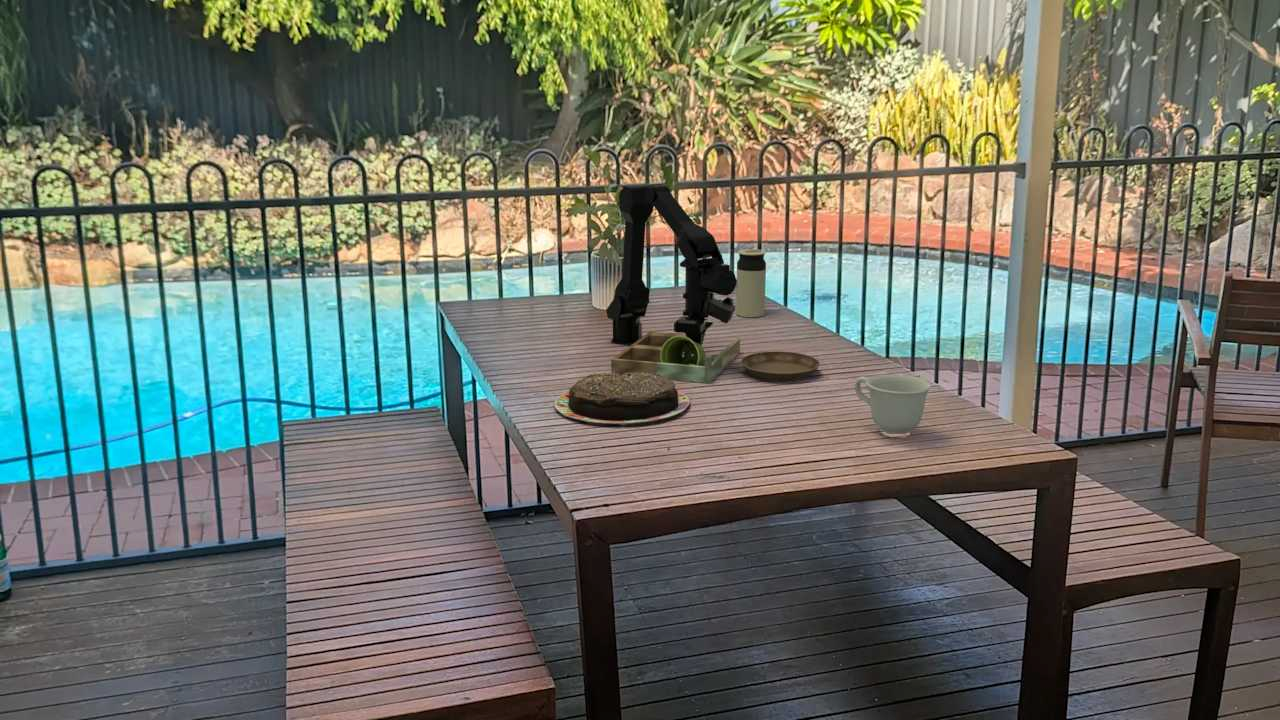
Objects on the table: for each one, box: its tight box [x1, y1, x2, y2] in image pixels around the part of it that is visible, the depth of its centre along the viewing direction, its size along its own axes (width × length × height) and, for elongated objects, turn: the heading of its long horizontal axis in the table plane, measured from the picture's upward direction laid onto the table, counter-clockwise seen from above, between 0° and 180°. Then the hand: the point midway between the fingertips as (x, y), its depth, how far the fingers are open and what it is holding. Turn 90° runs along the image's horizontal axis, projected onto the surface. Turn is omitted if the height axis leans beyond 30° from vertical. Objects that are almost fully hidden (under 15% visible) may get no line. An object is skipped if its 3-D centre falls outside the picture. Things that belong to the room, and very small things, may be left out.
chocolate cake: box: [553, 372, 691, 428], centre depth 222 cm, size 28×28×7 cm
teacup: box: [854, 373, 933, 434], centre depth 205 cm, size 12×15×10 cm
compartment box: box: [610, 331, 741, 384], centre depth 254 cm, size 23×28×6 cm
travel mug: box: [735, 248, 767, 319], centre depth 301 cm, size 8×8×18 cm
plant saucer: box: [740, 351, 820, 383], centre depth 246 cm, size 18×18×3 cm
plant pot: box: [660, 336, 706, 366], centre depth 246 cm, size 9×9×9 cm
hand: (697, 354), depth 252 cm, fingers closed
